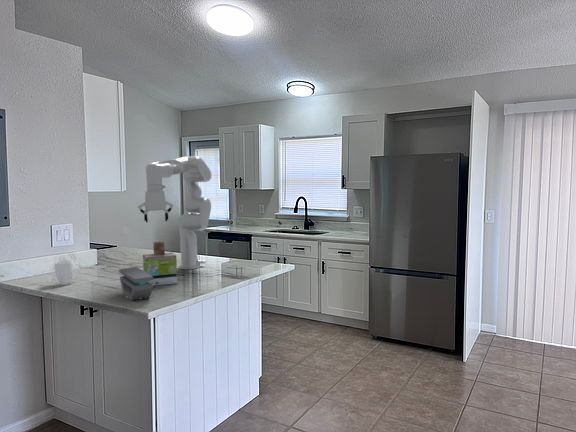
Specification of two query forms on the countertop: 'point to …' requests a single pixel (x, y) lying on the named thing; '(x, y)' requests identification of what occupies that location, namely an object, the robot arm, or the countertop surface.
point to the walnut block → (159, 248)
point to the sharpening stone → (136, 283)
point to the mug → (65, 271)
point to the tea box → (161, 268)
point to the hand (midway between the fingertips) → (156, 221)
